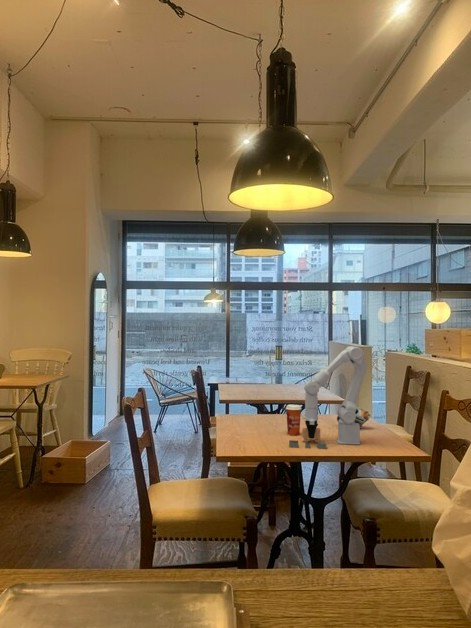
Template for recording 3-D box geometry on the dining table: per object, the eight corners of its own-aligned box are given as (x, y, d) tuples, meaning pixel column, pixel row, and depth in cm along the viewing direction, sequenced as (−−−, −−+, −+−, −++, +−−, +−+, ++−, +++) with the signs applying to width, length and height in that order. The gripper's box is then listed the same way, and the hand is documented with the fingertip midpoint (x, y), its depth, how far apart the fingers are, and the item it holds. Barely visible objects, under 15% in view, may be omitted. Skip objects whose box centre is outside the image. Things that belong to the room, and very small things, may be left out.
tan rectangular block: (319, 441, 199) (320, 428, 200) (320, 443, 196) (320, 429, 197) (302, 440, 200) (302, 427, 201) (302, 442, 197) (302, 429, 198)
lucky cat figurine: (359, 424, 236) (370, 403, 231) (364, 438, 225) (375, 416, 220) (334, 416, 236) (343, 395, 231) (337, 429, 225) (347, 408, 220)
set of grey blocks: (325, 446, 191) (325, 441, 191) (326, 448, 187) (326, 444, 187) (289, 444, 193) (289, 440, 193) (289, 447, 189) (289, 442, 189)
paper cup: (289, 436, 208) (289, 407, 208) (283, 433, 215) (283, 404, 215) (304, 435, 210) (304, 406, 210) (297, 432, 217) (297, 404, 218)
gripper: (302, 404, 207) (302, 433, 206) (303, 410, 192) (302, 441, 192) (317, 405, 206) (317, 433, 205) (319, 410, 191) (319, 441, 191)
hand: (311, 437), depth 198 cm, fingers closed on tan rectangular block, 3 cm apart
